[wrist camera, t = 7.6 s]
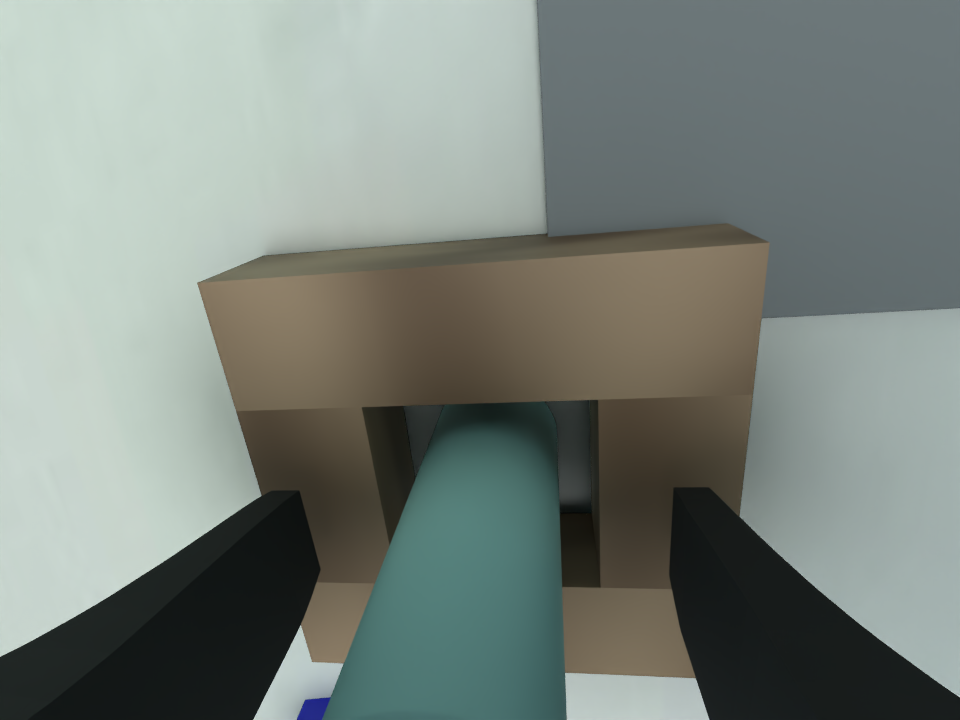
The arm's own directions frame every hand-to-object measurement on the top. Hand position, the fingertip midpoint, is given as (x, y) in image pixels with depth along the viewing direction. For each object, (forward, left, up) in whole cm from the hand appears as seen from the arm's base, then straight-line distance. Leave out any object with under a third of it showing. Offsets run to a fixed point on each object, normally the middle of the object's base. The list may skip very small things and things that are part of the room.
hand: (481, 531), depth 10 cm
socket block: (0, 0, -3) cm, 3 cm away
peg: (0, 0, -3) cm, 3 cm away
